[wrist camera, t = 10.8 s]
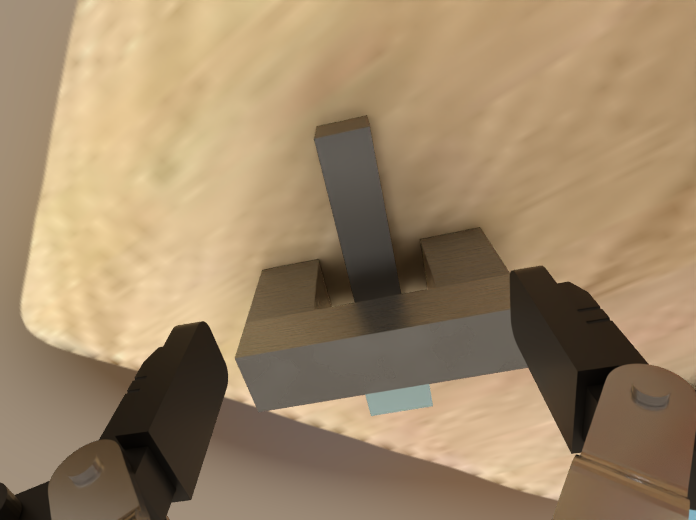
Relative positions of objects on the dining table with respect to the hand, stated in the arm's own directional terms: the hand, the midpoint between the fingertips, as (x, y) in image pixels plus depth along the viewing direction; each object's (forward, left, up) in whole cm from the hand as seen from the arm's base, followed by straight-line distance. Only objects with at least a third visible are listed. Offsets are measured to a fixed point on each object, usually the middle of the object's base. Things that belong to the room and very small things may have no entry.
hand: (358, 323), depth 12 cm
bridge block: (0, +9, -17) cm, 19 cm away
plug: (0, +9, -17) cm, 19 cm away
